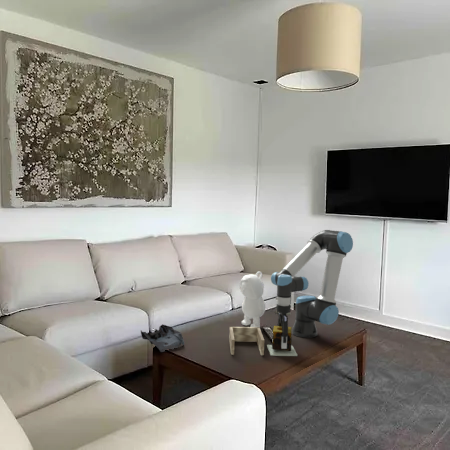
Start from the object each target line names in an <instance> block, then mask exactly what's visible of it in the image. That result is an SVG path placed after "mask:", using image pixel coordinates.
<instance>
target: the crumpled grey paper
mask: <svg viewBox="0 0 450 450" xmlns="http://www.w3.org/2000/svg"><path fill="white" fill-rule="evenodd" d="M140 334H141V338H142V340H146V341H148V342H149V343H150V345H154V346H155V347H156V348H157V349H158V350H159V352H160V353H164V352H166V351H165V350H167V349H172V350H175V349H174V348H177V349H178V348H179V347H180V346H183V345H184V346H185V340H184V336H183V334H182V332H181V331H178V330H176V329H174V328H173V327H172V326H169V325H166V324H161V325H160V326H159V328H158V329H157V328H155V329H154V332H146V331H142V330H140Z"/></svg>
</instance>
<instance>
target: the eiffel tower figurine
mask: <svg viewBox="0 0 450 450" xmlns="http://www.w3.org/2000/svg"><path fill="white" fill-rule="evenodd" d="M273 313H274V314H275V315H276V316H279V312H277V310H276V309H275V310H274V312H273ZM286 315H287V316H290V315H292V313H291V312H289V313H286Z"/></svg>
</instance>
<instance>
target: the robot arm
mask: <svg viewBox="0 0 450 450" xmlns="http://www.w3.org/2000/svg"><path fill="white" fill-rule="evenodd" d="M353 240H354V239H353V238H352V235H351V234H350V233H348V232H346V231H339V230H330V229H324V230H320V231H319V232H317V233H316V234H314V235H312V237H311V238H310V239H308V240H307V241H306V245H305V246H303V248H302V249H301V250H300V251H298V253H297V254H296V255H295V256H294V257H292V259H291V260H290V261H289V262H288V263H287V264H286V265H285V266H284V267H283V268H282V269H281V270H280V271H275V272H273V273H272V274H271V275H270V276H271V277H270V281H271V283H272V284H273V285H275V286H277V287H276V298H275V300H276V307H275V310H277V312H279V315H277V316H278V318H277V325H276V326H282V335H281V337H282V342H281V349H287V337H288V327H289V322H288V321H289V317H288V315H287V314H286V313H291V310H292V309H291V307H292V305H291V304H292V293H298V292H302V291H306V290H307V289H308V288H309V280H308V278H307V277H305V276H296V275H297V274H298V273H299V272H300V271H301V270H302V269H303V268H304V267H305V266H306V265H307V263H308V262H310V260H311V259H312V258H313V257H314V256H315V255H316V254H318V253H320V252H321V251H323V250H326V251H325V252H326V254H327V258H326V259H327V260H326V264H325V267H324V271H323V272H324V273H323V277H322V282H321V286H320V292H319V295H318V296H314V295H301V296H298V297H297V298H296V300H295V301H296V302H295V320H294V323H293V326H292V329H291V334H292V335H293V336H296V337H297V338H298V337H299V338H303V339H304V338H305V339H307V338H309V339H310V338H311V339H312V338H315V337H317V336H318V329H317V325H316V322H318V323H321V324H323V325H327V326H328V325H332V324H333V323H334V322H336V321H337V320H338V316H339V314H340V313H339V310H340V309H339V307H338V306H337V301H336V300H335V299H336V294H337V287H338V284H339V278H340V274H341V269H342V263H343V259H344V258H346V257H347V255H348V254H349V253H350V252H351V251H352V249H353V247H354V241H353Z"/></svg>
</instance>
